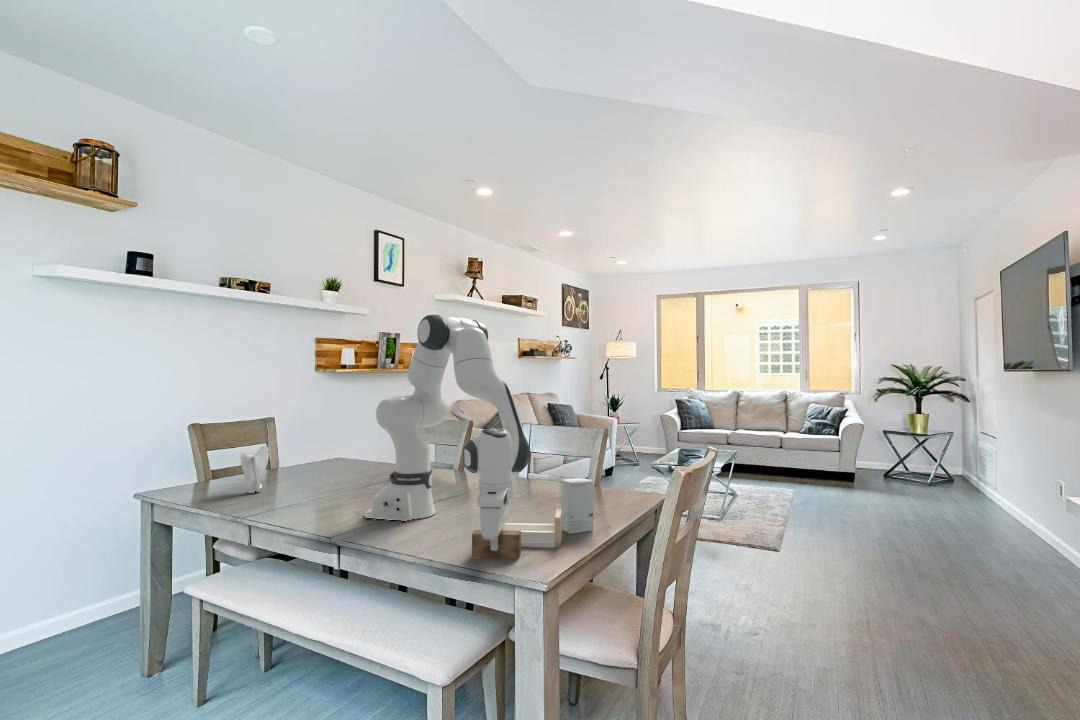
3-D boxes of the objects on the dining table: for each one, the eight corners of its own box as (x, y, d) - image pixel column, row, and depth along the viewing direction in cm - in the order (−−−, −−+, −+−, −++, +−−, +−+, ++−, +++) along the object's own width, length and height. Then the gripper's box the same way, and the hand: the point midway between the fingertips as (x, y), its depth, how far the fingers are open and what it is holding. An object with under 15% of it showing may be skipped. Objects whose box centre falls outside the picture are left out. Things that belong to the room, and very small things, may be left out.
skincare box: (569, 534, 156) (568, 482, 156) (559, 529, 162) (559, 478, 162) (594, 531, 160) (594, 480, 160) (584, 525, 165) (584, 476, 165)
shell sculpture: (237, 495, 209) (237, 447, 209) (252, 490, 217) (251, 444, 217) (256, 495, 207) (256, 448, 208) (270, 490, 216) (270, 445, 216)
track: (486, 546, 147) (486, 516, 147) (492, 534, 157) (492, 506, 157) (560, 547, 145) (560, 517, 145) (562, 536, 155) (562, 507, 155)
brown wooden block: (472, 557, 138) (471, 533, 139) (475, 552, 142) (474, 529, 142) (519, 558, 137) (518, 534, 137) (520, 553, 141) (520, 530, 141)
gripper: (491, 483, 151) (491, 533, 150) (475, 501, 130) (476, 560, 130) (513, 483, 150) (514, 534, 150) (501, 502, 130) (502, 560, 129)
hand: (496, 546), depth 140 cm, fingers closed on brown wooden block, 4 cm apart
